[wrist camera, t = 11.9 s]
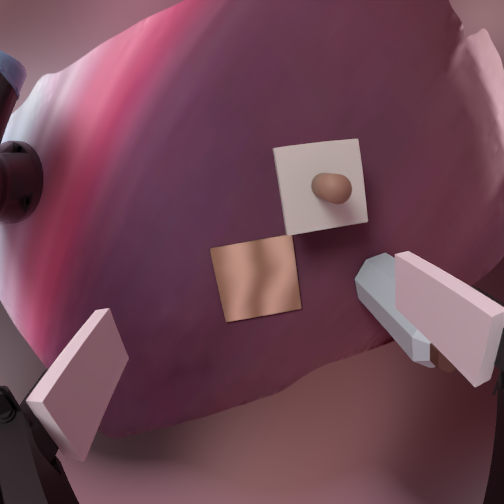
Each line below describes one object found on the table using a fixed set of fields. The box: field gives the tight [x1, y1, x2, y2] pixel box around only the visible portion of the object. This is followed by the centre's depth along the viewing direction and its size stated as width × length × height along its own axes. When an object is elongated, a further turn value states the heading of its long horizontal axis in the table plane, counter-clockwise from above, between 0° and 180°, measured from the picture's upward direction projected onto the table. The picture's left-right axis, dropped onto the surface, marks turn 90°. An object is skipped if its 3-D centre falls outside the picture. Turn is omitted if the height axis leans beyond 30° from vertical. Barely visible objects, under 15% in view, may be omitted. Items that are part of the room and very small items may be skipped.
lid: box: [273, 139, 368, 236], centre depth 39 cm, size 12×12×7 cm
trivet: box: [210, 235, 301, 322], centre depth 51 cm, size 13×13×1 cm
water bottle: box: [355, 253, 457, 373], centre depth 41 cm, size 10×10×25 cm
